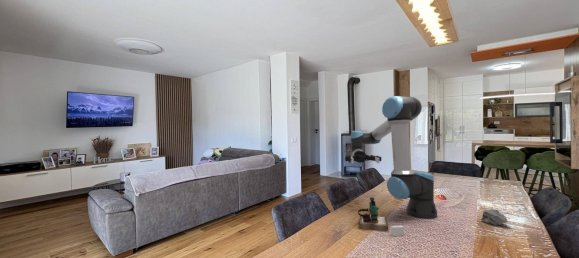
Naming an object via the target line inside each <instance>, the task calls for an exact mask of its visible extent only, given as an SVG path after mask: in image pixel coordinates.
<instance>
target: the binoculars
mask: <svg viewBox="0 0 579 258" xmlns="http://www.w3.org/2000/svg"><path fill="white" fill-rule="evenodd" d="M369 200H370V201H369V207H368V208H362V209H359V210H357V214H358V216H359V217H360V216H362V217H363V222H369V221H372V222H374V223H378V220H377V218H378V217H379V213H378V210H380V209H379V207H377V204H376V200H375V198H374V197H369ZM360 212H368V213H364V214H362V213H360ZM370 216H371V217H370ZM371 218H372V220H371Z"/></svg>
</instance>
